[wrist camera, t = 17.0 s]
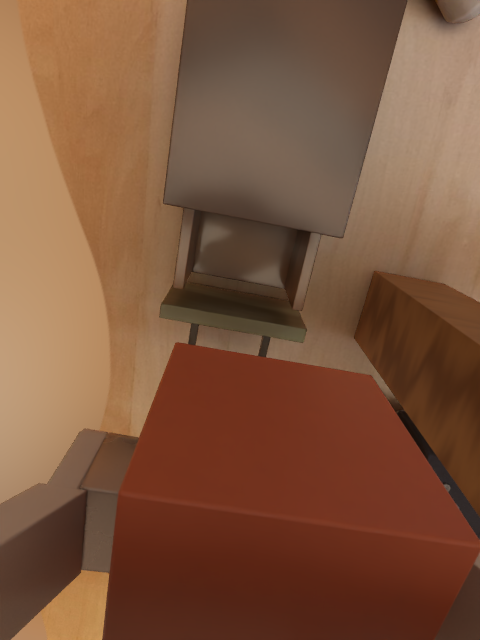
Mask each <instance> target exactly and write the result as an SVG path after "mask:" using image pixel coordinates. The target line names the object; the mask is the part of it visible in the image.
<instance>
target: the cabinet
mask: <svg viewBox="0 0 480 640" xmlns="http://www.w3.org/2000/svg"><path fill="white" fill-rule="evenodd" d="M406 4H407V0H187V6H186V14H185V23H184V31H183V40H182V48H181V56H180V65H179V73H178V81H177V90H176V98H175V107H174V115H173V123H172V132H171V140H170V148H169V157H168V165H167V174H166V182H165V190H164V199H163V204H167V205H172V206H177V207H183V208H188V209H193V210H198V211H203V212H208V213H214V214H219V215H224V216H229V217H234V218H239V219H245V220H250V221H255V222H260V223H265V224H270V225H276V226H281V227H286V228H291V229H296V230H301V231H307V232H312V233H317V234H322V235H327V236H332V237H338V238H343V236H344V232H345V229H346V225H347V221H348V217H349V214H350V210H351V206H352V203H353V199H354V195H355V192H356V188H357V184H358V181H359V177H360V173H361V170H362V166H363V162H364V159H365V155H366V151H367V148H368V144H369V140H370V137H371V133H372V129H373V125H374V122H375V118H376V114H377V111H378V107H379V103H380V100H381V96H382V92H383V89H384V85H385V81H386V78H387V74H388V70H389V67H390V63H391V59H392V56H393V52H394V48H395V45H396V41H397V37H398V33H399V30H400V26H401V22H402V19H403V15H404V11H405V8H406Z"/></svg>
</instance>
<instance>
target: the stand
mask: <svg viewBox="0 0 480 640" xmlns="http://www.w3.org/2000/svg"><path fill="white" fill-rule="evenodd" d="M354 339H355V340H356V342H357V343H358V344H359V346H360V347H361V349H362V350H363V352H364V353H365V354H366V356H367V357H368V359H369V360H370V362H371V363H372V364H373V366H374V367H375V369H376V370H377V372H378V373H379V374H380V376H381V377H382V379H383V380H384V382H385V383H386V384H387V386H388V387H389V389H390V390H391V392H392V393H393V394H394V396H395V397H396V399H397V400H398V402H399V403H400V404H401V406H402V407H403V409H404V410H405V411H406V413H407V414H408V416H409V417H410V419H411V420H412V421H413V423H414V424H415V426H416V427H417V429H418V430H419V431H420V433H421V434H422V436H423V437H424V439H425V440H426V441H427V443H428V444H429V446H430V447H431V449H432V450H433V451H434V453H435V454H436V456H437V457H438V459H439V460H440V461H441V463H442V464H443V466H444V467H445V469H446V470H447V471H448V473H449V474H450V476H451V477H452V478H453V480H454V481H455V483H456V484H457V486H458V487H459V488H460V490H461V491H462V493H463V494H464V496H465V497H466V498H467V500H468V501H469V503H470V504H471V506H472V507H473V508H474V510H475V511H476V513H477V514H478V516H479V517H480V302H478V301H476V300H474V299H472V298H470V297H468V296H466V295H464V294H463V293H461V292H459V291H457V290H455V289H453V288H451V287H449V286H447V285H446V284H442V283H437V282H431V281H426V280H421V279H416V278H410V277H405V276H400V275H395V274H389V273H384V272H379V271H374V274H373V278H372V281H371V284H370V287H369V291H368V294H367V297H366V300H365V304H364V307H363V310H362V313H361V317H360V320H359V323H358V327H357V330H356V333H355V336H354Z"/></svg>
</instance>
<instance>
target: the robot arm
mask: <svg viewBox="0 0 480 640" xmlns="http://www.w3.org/2000/svg"><path fill="white" fill-rule="evenodd" d="M138 439H139V438H138V437H133V436H127V435H121V434H116V433H108V432H103V431H97V430H90V429H83V430H82V431H81V432H79V434H78V435H77V437H76V439H75V440H74V442H73V443H72V445H71V447H70V448H69V450H68V451H67V453H66V455H65V456H64V458H63V460H62V461H61V463H60V464H59V466H58V467H57V469H56V471H55V472H54V474H53V476H52V477H51V479H50V480H49V482H48V483H47V484H40V483H39V484H37V485H35V486H33V487H31V488H29V489H27V490H25V491H24V492H22V493H20V494H18V495H16V496H14V497H12V498H11V499H9V500H7V501H5V502H3V503H1V504H0V640H11V639H12V638H13V637H14V636H15V635H16V634H17V633H18V632H19V631H20V630H21V629H22V628H23V627H24V626H25V625H26V624H27V623H29V622H30V621H31V619H33V618H34V617H35V616H36V615H37V614H38V613H39V612H40V611H41V610H42V609H43V608H44V607H45V606H46V605H47V604H48V603H50V602H51V601H52V600H53V599H54V598H55V597H56V596H57V595H58V594H59V593H60V592H61V591H62V590H63V589H64V588H65V587H66V586H67V585H68V584H70V583H71V582H72V581H73V580H74V579H75V578H76V577H77V576H78V575H79V574H80V573H81V570H88V571H98V572H108V573H110V564H111V554H112V545H113V536H114V526H115V517H116V507H117V498H118V492H119V489H120V486H121V484H122V481H123V479H124V476H125V473H126V471H127V468H128V465H129V463H130V460H131V458H132V455H133V452H134V450H135V447H136V445H137V442H138ZM434 640H480V553H479V555H478V557H477V559H476V561H475V563H474V565H473V567H472V569H471V570H470V572H469V574H468V576H467V578H466V580H465V582H464V584H463V586H462V588H461V590H460V592H459V593H458V595H457V597H456V599H455V601H454V603H453V605H452V607H451V609H450V611H449V613H448V615H447V616H446V618H445V620H444V622H443V624H442V626H441V628H440V630H439V632H438V634H437V636H436V638H435V639H434Z"/></svg>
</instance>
